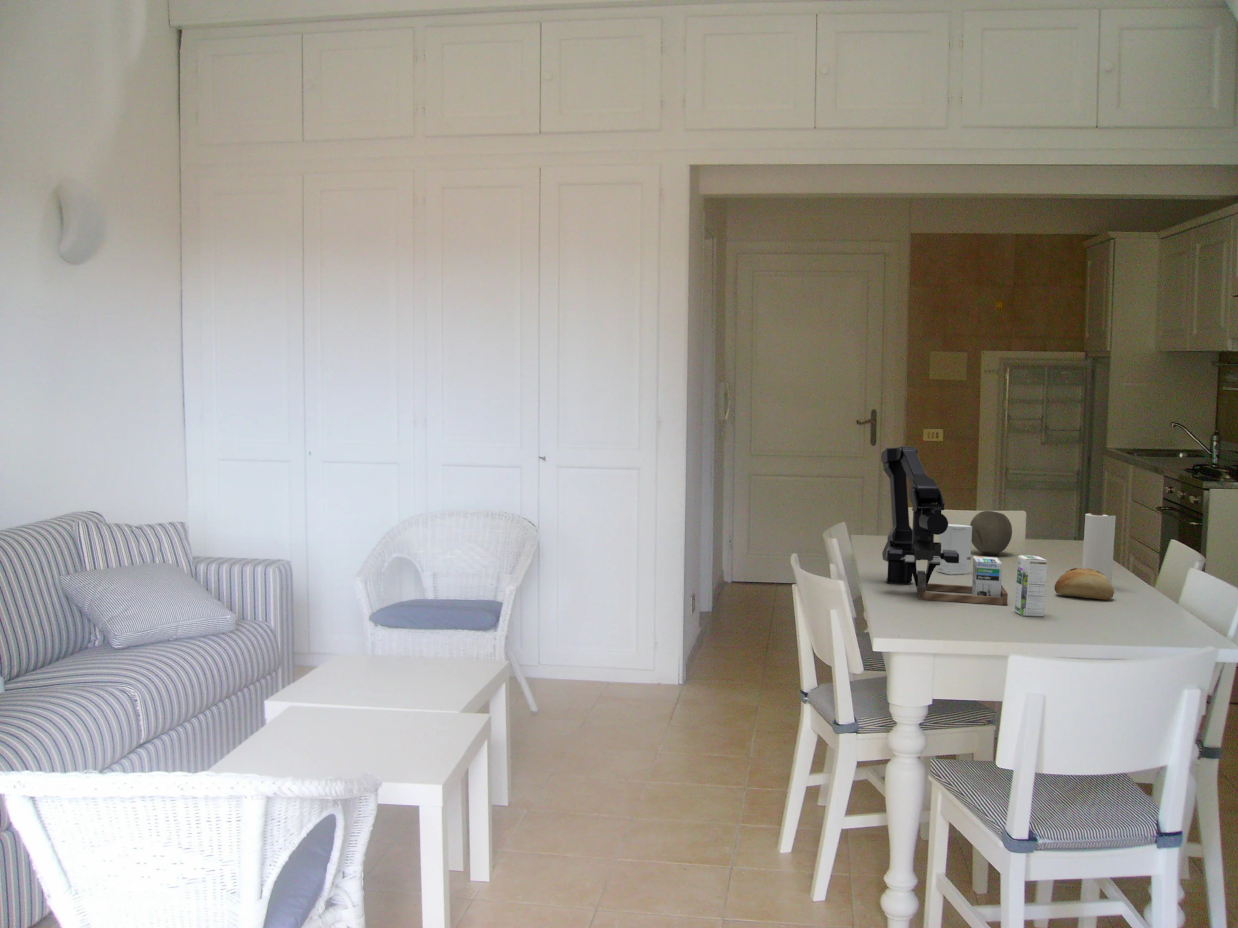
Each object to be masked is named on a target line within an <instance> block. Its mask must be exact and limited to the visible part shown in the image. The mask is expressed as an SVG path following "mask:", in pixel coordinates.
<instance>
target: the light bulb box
mask: <svg viewBox="0 0 1238 928" xmlns="http://www.w3.org/2000/svg"><path fill="white" fill-rule="evenodd" d="M1002 577H1003V563H1002V562H1001V561H1000V559H999V558H998V557H994V556H980V555H979V556H978V555H973V556H972V583H971V586H972V593H971V595H977V596H992V597H1001V585H1002V580H1003V579H1002Z"/></svg>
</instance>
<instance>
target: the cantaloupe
mask: <svg viewBox="0 0 1238 928" xmlns="http://www.w3.org/2000/svg"><path fill="white" fill-rule="evenodd" d="M969 526H972V540H971V545H973V547H974V548H975V549H976V550H977V551H979V552H980V553H981V554H984V555H987V556H996V555H998V554H1001V553H1002V552H1003V551H1005V549H1007V547H1008V546H1009V544H1010V542H1011V540H1012V537H1013V536H1012V535H1013V527H1012V523H1011V521H1010V519H1009V518H1008V516H1006V515H1005V514H1004V513H1002V512H997V511H992V510H983V511H980V512H978V513H976V514H975V515H974V516H973V518H972V519H971V521H970V524H969Z"/></svg>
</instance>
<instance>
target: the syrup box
mask: <svg viewBox="0 0 1238 928" xmlns="http://www.w3.org/2000/svg"><path fill="white" fill-rule="evenodd" d="M1047 574H1048V559H1045V558H1043V557H1041V556H1037V555H1030V554H1029V555H1025V554H1024V555H1022V554H1021V555H1018V556H1017V571H1016V580H1015V593H1014V595H1015V597H1014V612H1015V613H1017V614H1019V615H1021V617H1045V605H1046V604H1045V603H1046V591H1047V590H1046V589H1047Z"/></svg>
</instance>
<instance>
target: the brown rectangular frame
mask: <svg viewBox="0 0 1238 928" xmlns="http://www.w3.org/2000/svg"><path fill="white" fill-rule="evenodd" d="M917 580H918V584H917V586H916V591H917V594H918V597H919V600H927V601H937V602H939V601H942V602H953V603H954V602H956V603H969V604H970V603H971V604H984V605H998V606H999V605H1000V606H1008V599H1009V598H1008V596H1009V594H1008V592H1007V591H1006V589H1005V588H1004V586H1003V584H1001V597H992V596H977V595H972V585H962V584H948V583H947V584H946V583H945V584H944V583H930V582H928V584H927V587H926V571H925V570H917ZM929 591H930V592H929ZM931 591H932V592H931ZM933 591H934V592H933ZM942 592H943V593H942ZM944 592H946V593H944ZM948 592H949V593H948ZM959 593H961V594H959ZM962 593H963V594H962ZM964 593H965V594H964Z"/></svg>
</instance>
